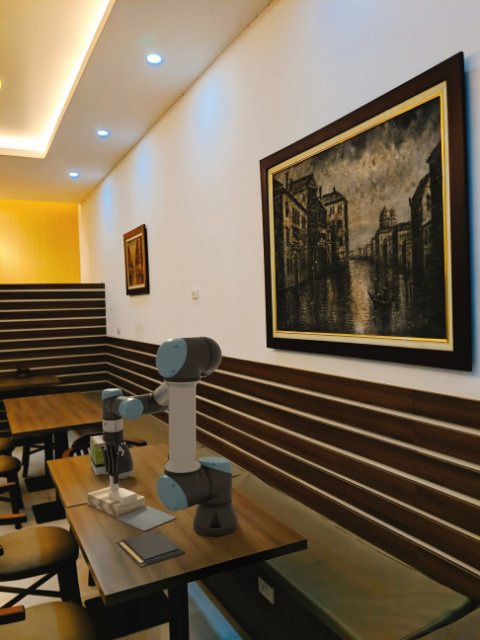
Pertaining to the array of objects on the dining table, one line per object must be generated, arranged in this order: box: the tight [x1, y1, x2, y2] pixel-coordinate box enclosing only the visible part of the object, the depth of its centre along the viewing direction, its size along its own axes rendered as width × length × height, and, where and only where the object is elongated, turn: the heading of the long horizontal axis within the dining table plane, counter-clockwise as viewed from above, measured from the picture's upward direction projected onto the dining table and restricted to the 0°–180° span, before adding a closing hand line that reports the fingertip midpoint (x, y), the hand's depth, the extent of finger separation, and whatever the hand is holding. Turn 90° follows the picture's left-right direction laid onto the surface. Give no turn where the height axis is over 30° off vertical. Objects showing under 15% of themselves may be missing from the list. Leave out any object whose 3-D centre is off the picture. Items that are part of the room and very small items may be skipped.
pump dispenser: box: [119, 441, 135, 480], centre depth 223 cm, size 10×10×15 cm
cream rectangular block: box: [109, 487, 138, 503], centre depth 187 cm, size 9×6×2 cm, turn 48°
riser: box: [86, 486, 146, 518], centre depth 191 cm, size 20×12×4 cm, turn 48°
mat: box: [115, 506, 177, 533], centre depth 178 cm, size 16×14×1 cm
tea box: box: [89, 434, 108, 476], centre depth 235 cm, size 15×10×15 cm
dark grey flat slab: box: [115, 530, 186, 569], centre depth 156 cm, size 20×2×15 cm
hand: (114, 491), depth 191 cm, fingers closed
